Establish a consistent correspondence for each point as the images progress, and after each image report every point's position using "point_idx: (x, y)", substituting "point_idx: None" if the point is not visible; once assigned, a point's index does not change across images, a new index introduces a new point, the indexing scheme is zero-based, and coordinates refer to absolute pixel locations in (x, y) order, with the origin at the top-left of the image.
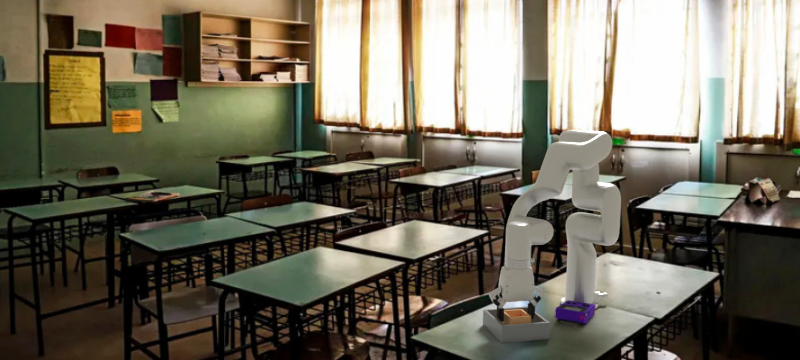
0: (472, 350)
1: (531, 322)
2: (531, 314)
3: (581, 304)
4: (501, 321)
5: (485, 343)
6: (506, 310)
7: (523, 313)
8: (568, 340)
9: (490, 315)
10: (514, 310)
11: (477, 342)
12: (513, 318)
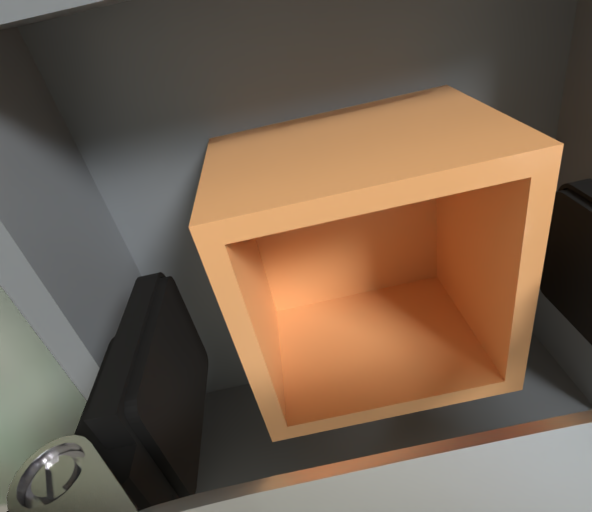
0: (11, 480)
1: (581, 66)
2: (571, 318)
3: None
4: (206, 163)
5: (79, 404)
6: (274, 219)
7: (506, 247)
8: None
9: (23, 304)
10: (411, 202)
11: (19, 396)
12: (309, 423)
